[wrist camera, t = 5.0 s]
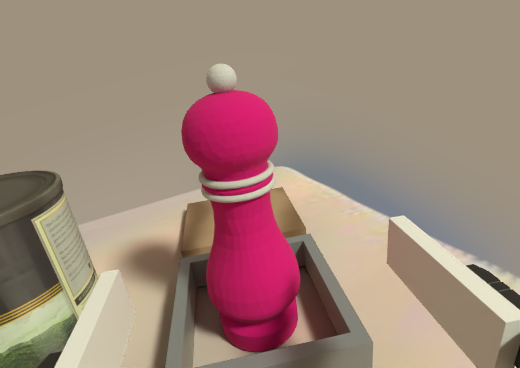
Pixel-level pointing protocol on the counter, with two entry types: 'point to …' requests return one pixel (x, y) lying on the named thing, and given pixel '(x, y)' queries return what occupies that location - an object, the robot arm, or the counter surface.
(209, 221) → the board
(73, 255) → the coffee can
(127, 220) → the counter surface
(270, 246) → the pepper mill
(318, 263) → the holder
